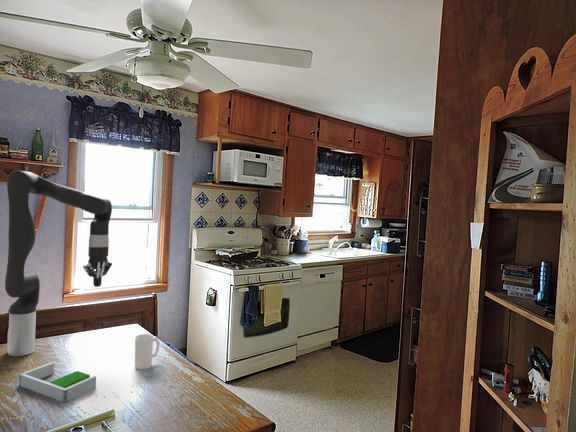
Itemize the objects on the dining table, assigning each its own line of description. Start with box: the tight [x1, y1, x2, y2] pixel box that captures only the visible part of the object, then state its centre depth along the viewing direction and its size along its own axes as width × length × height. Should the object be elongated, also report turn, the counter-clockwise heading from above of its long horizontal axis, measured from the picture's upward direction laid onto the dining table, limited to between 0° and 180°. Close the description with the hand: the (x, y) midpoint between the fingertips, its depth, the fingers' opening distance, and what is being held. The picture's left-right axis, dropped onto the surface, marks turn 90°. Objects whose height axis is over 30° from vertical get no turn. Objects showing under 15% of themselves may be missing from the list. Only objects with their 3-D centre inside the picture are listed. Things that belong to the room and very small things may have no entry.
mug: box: [134, 333, 160, 371], centre depth 160 cm, size 10×7×12 cm, turn 137°
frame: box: [18, 361, 97, 403], centre depth 139 cm, size 23×12×4 cm, turn 66°
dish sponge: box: [48, 370, 91, 388], centre depth 140 cm, size 7×14×2 cm, turn 156°
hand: (97, 286), depth 167 cm, fingers closed
